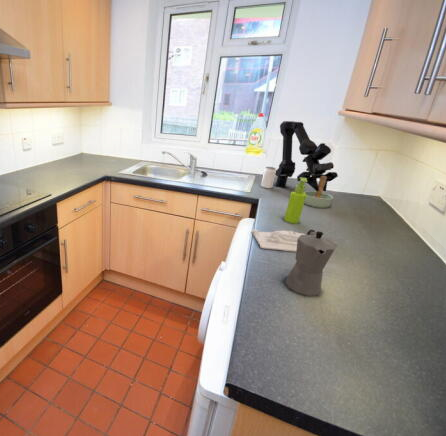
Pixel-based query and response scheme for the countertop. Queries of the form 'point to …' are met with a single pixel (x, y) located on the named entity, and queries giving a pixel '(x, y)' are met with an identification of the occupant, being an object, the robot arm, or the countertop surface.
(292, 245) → the beige cloth
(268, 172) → the can
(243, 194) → the countertop surface
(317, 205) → the bowl
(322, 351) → the countertop surface
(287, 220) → the soap dispenser
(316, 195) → the pestle
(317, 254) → the coffeepot
